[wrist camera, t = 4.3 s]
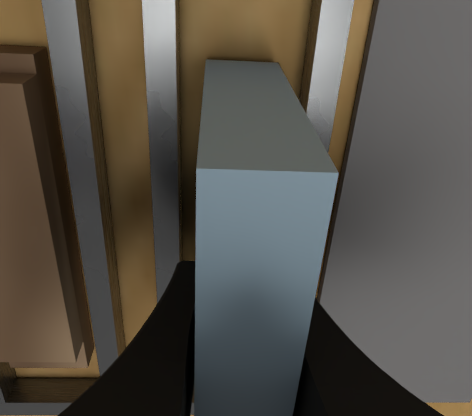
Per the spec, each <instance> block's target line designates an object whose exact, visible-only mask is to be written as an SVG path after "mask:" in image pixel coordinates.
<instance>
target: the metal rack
mask: <svg viewBox="0 0 472 416" xmlns="http://www.w3.org/2000/svg"><path fill="white" fill-rule="evenodd" d="M353 5H354V0H312V6H311V14H310V22H309V30H308V38H307V46H306V54H305V61H304V69H303V77H302V85H301V93H300V101H299V102H300V104H301V105H302V107H303V109H304V111H305V113H306V114H307V116H308V118H309V120H310V122H311V124H312V125H313V127H314V129H315V131H316V133H317V134H318V136H319V138H320V140H321V142H322V143H323V145H324V147H325V149H326V151H327V153H328V151H329V145H330V139H331V133H332V127H333V122H334V116H335V110H336V104H337V98H338V92H339V87H340V81H341V75H342V69H343V63H344V57H345V51H346V46H347V40H348V34H349V28H350V22H351V16H352V11H353ZM42 7H43V13H44V19H45V26H46V32H47V39H48V45H49V51H50V58H51V64H52V71H53V77H54V84H55V90H56V96H57V103H58V109H59V116H60V122H61V128H62V135H63V141H64V148H65V154H66V160H67V167H68V173H69V180H70V186H71V192H72V199H73V205H74V212H75V218H76V224H77V231H78V237H79V244H80V250H81V257H82V263H83V269H84V276H85V282H86V289H87V295H88V301H89V308H90V314H91V321H92V327H93V333H94V340H95V346H96V353H97V359H98V365H99V372H100V376H101V375H102V374H103V373H104V372H105V371H106V370H107V369H108V368H109V367H110V366H111V364H112V363H113V362H114V361H115V360H116V359H117V358H118V357H119V356H120V354H121V353H122V352H123V351H124V350H125V339H124V330H123V320H122V311H121V302H120V292H119V283H118V274H117V264H116V255H115V246H114V236H113V227H112V218H111V208H110V199H109V190H108V180H107V171H106V162H105V152H104V143H103V134H102V124H101V115H100V106H99V96H98V87H97V78H96V68H95V59H94V50H93V40H92V31H91V22H90V12H89V3H88V0H42ZM142 11H143V31H144V51H145V70H146V90H147V109H148V129H149V149H150V168H151V188H152V207H153V227H154V247H155V266H156V286H157V303H158V302H159V300H160V298H161V297H162V295H163V293H164V292H165V290H166V288H167V286H168V284H169V282H170V280H171V278H172V276H173V273H174V271H175V268H176V265H177V263H179V262H180V261H182V218H181V138H180V58H179V0H142ZM96 380H97V379H94V378H17V377H16V374H15V371H14V368H10V365H9V362H0V415H59V414H60V413H61V412H62V411H64V410H65V409H66V408H67V407H68V406H69V405H70V404H71V403H73V402H74V401H75V400H76V399H77V398H78V397H79V396H80V395H81V394H82V393H83V392H85V391H86V390H87V389H88V388H89V387H90V386H91V385H92V384H93V383H94V382H95V381H96ZM190 415H194V391H193V398H192V406H191V413H190Z"/></svg>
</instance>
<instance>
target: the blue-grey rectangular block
mask: <svg viewBox="0 0 472 416" xmlns="http://www.w3.org/2000/svg"><path fill="white" fill-rule="evenodd" d="M338 174H339V172H338V171H337V169H336V167H335V165H334V163H333V162H332V160H331V158H330V156H329V154H328V153H327V151H326V149H325V147H324V145H323V143H322V142H321V140H320V138H319V136H318V134H317V133H316V131H315V129H314V127H313V125H312V124H311V122H310V120H309V118H308V116H307V114H306V113H305V111H304V109H303V107H302V105H301V104H300V102H299V100H298V98H297V96H296V94H295V93H294V91H293V89H292V87H291V85H290V84H289V82H288V80H287V78H286V76H285V75H284V73H283V71H282V69H281V67H280V65H279V64H278V63H274V62H253V61H231V60H209V59H206V64H205V75H204V87H203V98H202V109H201V121H200V132H199V143H198V155H197V166H196V260H195V377H194V416H293V411H294V406H295V401H296V395H297V390H298V385H299V379H300V374H301V369H302V364H303V358H304V353H305V348H306V343H307V337H308V332H309V327H310V322H311V316H312V311H313V306H314V301H315V295H316V290H317V285H318V280H319V274H320V269H321V264H322V259H323V253H324V248H325V243H326V237H327V232H328V227H329V222H330V216H331V211H332V206H333V201H334V195H335V190H336V185H337V180H338Z"/></svg>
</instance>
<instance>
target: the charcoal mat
mask: <svg viewBox="0 0 472 416" xmlns="http://www.w3.org/2000/svg"><path fill="white" fill-rule="evenodd" d="M317 300H318V301H319V303H320V304H321V305H322V307H323V308H324V309H325V310H326V312H327V313H328V314H329V316H330V317H331V318H332V319H333V320H334V322H335V323H336V324H337V325H338V326H339V327H340V328H341V330H342V331H343V332H344V333H345V334H346V335H347V336H348V337H349V338H350V339H351V341H352V342H353V343H354V344H355V345H356V346H357V347H358V348H359V349H360V350H361V351H362V352H363V353H364V354H365V355H366V356H367V357H368V358H370V359H371V360H372V361H373V362H374V363H375V364H376V365H377V366H378V367H380V368H381V369H382V370H383V371H384V372H386V373H387V374H388V375H389V376H390V377H392V378H393V379H394V380H395V381H397V382H398V383H399V384H400V385H401V386H403V387H404V388H405V389H407V390H408V391H409V392H411V393H412V394H413V395H415V396H416V397H417V398H419V399H420V400H422V401H423V402H470V401H471V399H472V0H374V5H373V10H372V15H371V20H370V26H369V31H368V36H367V41H366V46H365V52H364V57H363V62H362V67H361V72H360V78H359V83H358V88H357V93H356V98H355V104H354V109H353V114H352V119H351V124H350V130H349V135H348V140H347V145H346V150H345V156H344V161H343V166H342V171H341V177H340V182H339V187H338V192H337V197H336V203H335V208H334V213H333V218H332V223H331V229H330V234H329V239H328V244H327V249H326V255H325V260H324V265H323V270H322V275H321V281H320V286H319V291H318V296H317Z"/></svg>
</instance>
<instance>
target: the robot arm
mask: <svg viewBox="0 0 472 416" xmlns="http://www.w3.org/2000/svg"><path fill="white" fill-rule="evenodd" d="M194 377H195V261H180V262H179V263H177V265H176V268H175V271H174V273H173V276H172V278H171V280H170V282H169V284H168V286H167V288H166V290H165V292H164V293H163V295H162V297H161V298H160V300H159V302H158V303H157V305H156V307H155V309H154V310H153V312H152V313H151V315H150V316H149V318H148V319H147V320H146V322H145V323H144V325H143V326H142V328H141V329H140V331H139V332H138V333H137V335H136V336H135V337H134V339H133V340H132V341H131V342H130V344H129V345H128V346H127V347H126V348H125V350H124V351H123V352H122V353H121V354H120V356H119V357H118V358H117V359H116V360H115V361H114V362H113V363H112V364H111V366H110V367H109V368H108V369H107V370H106V371H105V372H104V373H103V374H102V375H101V376H100V377H99V378H98V379H97V380H96V381H95V382H94V383H93V384H92V385H91V386H90V387H89V388H88V389H87V390H86V391H85V392H83V393H82V394H81V395H80V396H79V397H78V398H77V399H76V400H75V401H74V402H73V403H71V404H70V405H69V406H68V407H67V408H66V409H65V410H64V411H62V412H61V413H60V414H59V415H57V416H190V413H191V406H192V398H193V391H194ZM293 416H444V415H442V414H440V413H439V412H437V411H436V410H434V409H433V408H432V407H430V406H429V405H427V404H426V403H425V402H423V401H422V400H420V399H419V398H417V397H416V396H415V395H413V394H412V393H411V392H409V391H408V390H407V389H405V388H404V387H403V386H401V385H400V384H399V383H398V382H397V381H395V380H394V379H393V378H392V377H390V376H389V375H388V374H387V373H386V372H384V371H383V370H382V369H381V368H380V367H378V366H377V365H376V364H375V363H374V362H373V361H372V360H371V359H370V358H368V357H367V356H366V355H365V354H364V353H363V352H362V351H361V350H360V349H359V348H358V347H357V346H356V345H355V344H354V343H353V342H352V341H351V339H350V338H349V337H348V336H347V335H346V334H345V333H344V332H343V331H342V330H341V328H340V327H339V326H338V325H337V324H336V323H335V322H334V320H333V319H332V318H331V317H330V316H329V314H328V313H327V312H326V310H325V309H324V308H323V307H322V305H321V304H320V303H319V301H318V300H317V299H316V298H315V301H314V306H313V311H312V316H311V322H310V327H309V332H308V337H307V343H306V348H305V353H304V358H303V364H302V369H301V374H300V379H299V385H298V390H297V395H296V401H295V406H294V411H293Z"/></svg>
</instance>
